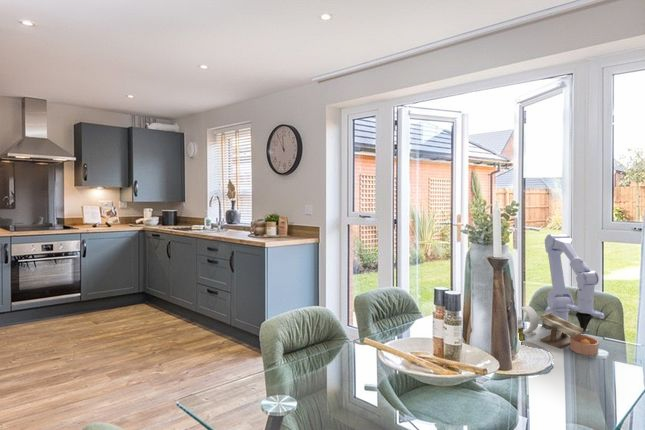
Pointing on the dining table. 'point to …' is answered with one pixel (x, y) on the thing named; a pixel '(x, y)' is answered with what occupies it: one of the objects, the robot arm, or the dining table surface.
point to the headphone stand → (531, 320)
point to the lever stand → (556, 338)
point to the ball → (585, 341)
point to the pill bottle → (520, 329)
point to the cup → (584, 345)
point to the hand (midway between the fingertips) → (583, 329)
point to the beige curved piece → (561, 325)
